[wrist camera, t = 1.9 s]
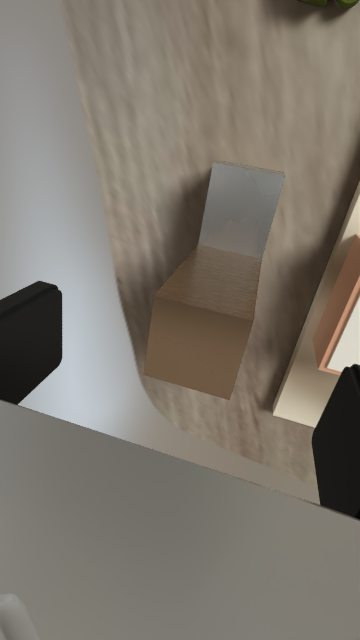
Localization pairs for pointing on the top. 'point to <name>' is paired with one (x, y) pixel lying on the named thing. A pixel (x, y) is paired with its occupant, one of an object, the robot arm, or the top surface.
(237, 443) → the top surface
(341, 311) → the tile
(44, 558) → the robot arm
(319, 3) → the gun
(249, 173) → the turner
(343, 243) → the board
